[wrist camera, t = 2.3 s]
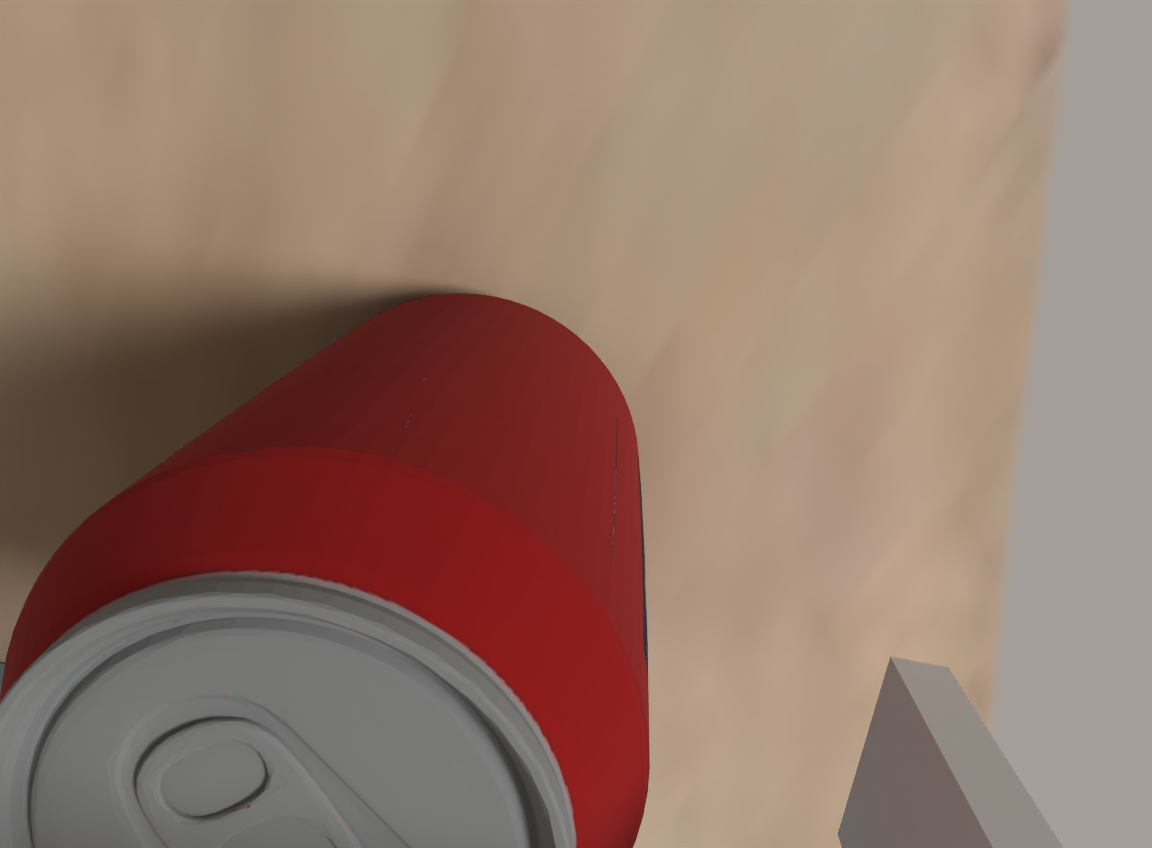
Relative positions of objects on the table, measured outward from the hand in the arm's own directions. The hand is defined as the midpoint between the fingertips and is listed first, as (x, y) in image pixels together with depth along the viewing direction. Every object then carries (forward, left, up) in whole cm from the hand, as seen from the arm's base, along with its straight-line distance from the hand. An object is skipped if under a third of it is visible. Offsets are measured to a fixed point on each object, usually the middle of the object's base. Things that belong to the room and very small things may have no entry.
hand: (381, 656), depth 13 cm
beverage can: (0, 0, -8) cm, 8 cm away
